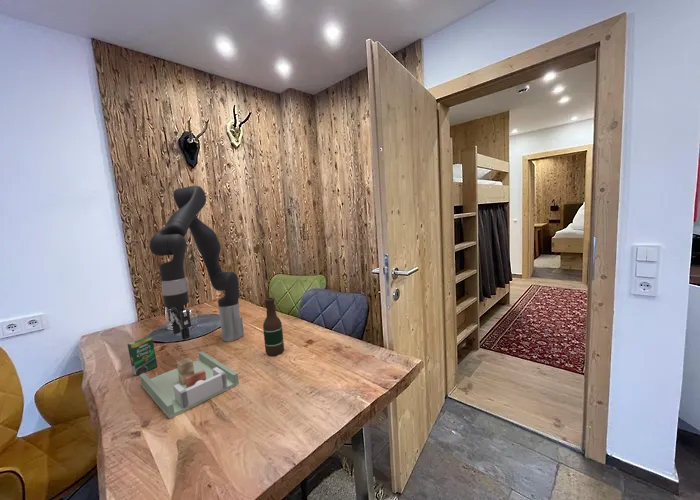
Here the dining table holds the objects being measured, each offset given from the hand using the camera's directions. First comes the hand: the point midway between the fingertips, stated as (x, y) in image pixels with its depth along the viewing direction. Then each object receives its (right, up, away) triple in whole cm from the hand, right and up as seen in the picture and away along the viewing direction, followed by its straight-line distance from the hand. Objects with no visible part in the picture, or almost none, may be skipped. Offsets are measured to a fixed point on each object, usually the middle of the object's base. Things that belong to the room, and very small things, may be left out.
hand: (181, 335), depth 104 cm
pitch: (+2, -18, +1) cm, 18 cm away
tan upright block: (+4, -17, -1) cm, 17 cm away
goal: (+11, -18, -7) cm, 22 cm away
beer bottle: (+28, -14, +22) cm, 38 cm away
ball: (+10, -15, -6) cm, 19 cm away
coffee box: (-22, -18, +13) cm, 31 cm away
